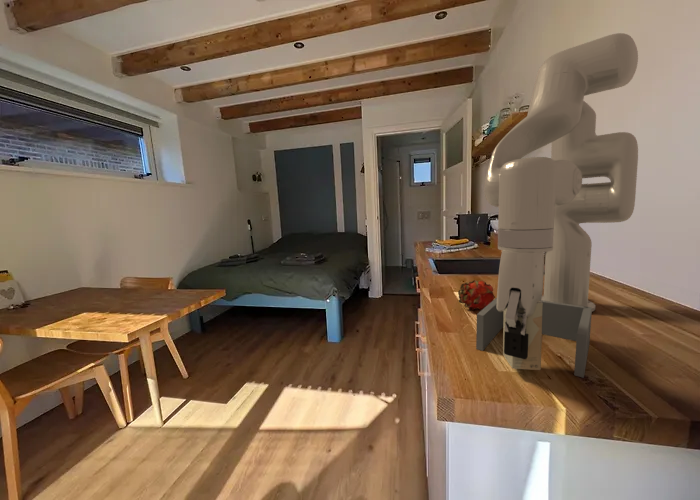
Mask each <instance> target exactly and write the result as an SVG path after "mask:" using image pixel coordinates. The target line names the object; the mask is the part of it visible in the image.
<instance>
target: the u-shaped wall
mask: <svg viewBox="0 0 700 500" xmlns="http://www.w3.org/2000/svg"><path fill="white" fill-rule="evenodd" d="M541 302H542V303H543V306H542V335H544V336H550V337H555V338H559V339H560V338H561V339H563V340H564V339H565V340H569V341H573V342H575V356H574V357H575V358H574V360H575V361H574V376H576V377H579V378H583V379H584V378H585V373H586V372H585V371H586V366H587V361H588V360H587V359H588V356H589V355H588V353H589V347H590V340H591V328H592V315H593V314H592V307H586V306H579V305H572V304H565V303H558V302H551V301H544V300H541ZM496 305H497V297H495V298H494V300H493V301H492V302H491V303H490V304H488V305H487V306H486V307H485V308H484V309H483V310H479V311H478V312H477V313H476V334H475V335H476V338H475V339H476V340H475V341H476V343H475V345H476V347H475V349H476V350H478V351H482V352H483V351H484V350H485V349H486V348H487V346H488V345H489V344H490V343H491V341H493V339H495V337H496V336H497V334H499V332H501V330H502V329H503V324H504V311H502V312H499V311H498V310H497V308H496Z"/></svg>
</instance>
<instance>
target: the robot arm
mask: <svg viewBox="0 0 700 500" xmlns="http://www.w3.org/2000/svg"><path fill="white" fill-rule="evenodd" d="M638 52H639V51H638V47H637V45H636V42H635V41H634V39H633V37H632V36H631V35H630V34H628V33H622V32H620V33H619V32H618V33H613V34H608V35H606V36H603V37H600V38H597V39H593V40H591V41H588V42H584V43H582V44H578V45H575V46H572V47H569V48H567V49H564V50H561V51H559V52H556V53H555V54H553V55H551V56H549V57H548V58H547V59H545V61H544V62H542V64H541V65H540V67H539V69H538V71H537V73H536V77H535V81H534V85H533V89H532V93H531V99H530V103H529V107H528V110H527V116H526V117H524V118H523V119H522V120H521V121H520V120H519V121H520V122H518V123H517V124H515V126H514V127H512V128H511V129H510V130H509V132H508V133H506V134H505V135H504V136H503V137H502V139H501V140H500V141H499V142H498V143H497V145H496V146H495V148H494V149H493V150H492V153H491V156H490V160H489V163H488V166H487V170H486V174H485V180H484V186H483V187H484V189H483V190H484V192H483V193H484V197H485V199H486V201H487V202H488V204H490V205H491V206H492V207H496V208H498V216H497V218H498V219H497V249H498V250H499V251H501V255H500V260H499V269H498V277H497V278H498V279H497V292H496V298H497V305H496V308H497V310H498V311H499V312H502V311H504V310H505V309H506V308H507V311H506V315H505V319H506V322H505V334H504V353H505V354H506V355H510V356H513V357H517V358H521V359H527V357H528V336H529V334H526V330H527V322H528V317H529V316H531V315H533V313H534V312H535V309H536V305H537V302H538V301H541V300H544V301H551V302H558V303H565V304H572V305H579V306H586V307H592V312H595V310H596V304H595V303H593V302H592V301H590V300H589V292H590V291H589V289H590V276H591V275H590V273H591V261H592V260H591V259H592V239H591V236H590V235H589V233H587V231H586V230H585V229H583V228H582V227H581V225H580V224H590V223H591V224H601V223H603V224H604V223H605V224H606V223H611V224H612V223H623V222H625V221H627V220H629V219H630V218H631V217H632V215H633V213H634V210H635V205H636V194H637V193H636V192H637V179H638V178H637V177H638V176H637V175H638V163H639V162H638V161H639V144H638V141H637V138H636V137H635V135H634V134H632V133H630V132H626V131H623V132H621V131H620V132H612V133H607V134H600V135H597V134H596V126H597V114H596V112H595V110H594V108H592V106H591V105H590V104H589V103H588V102H586V101H585V100H584V99H585V96H588V95H594V94H597V93H601V92H606V91H611V90H614V89H618V88H622V87H625V86H626V85H628V84H629V83H630V82H631V81H632V79H633V77H634V76H635V74H636V71H637V68H638V62H639V53H638ZM549 144H551V151H550V152H551V155H550V157H546V156H545V157H544V156H537V157H535V156H534V157H533V156H532V157H531V156H530V157H525V156H527V155H528V154H530V153H532V152H534V151H536V150H539V149H540V148H543V147H545V146H547V145H549ZM524 157H525V158H524ZM603 177H604V178H607V179H608V180H610V181H609V182H607V181H605V182H596V183H595V182H593V183H592V182H591V183H583V179H591V178H593V179H594V178H603ZM518 309H520V310H525V311H524V314H523V313H518ZM518 317H520V318H522V325H521V322H520V320H518Z"/></svg>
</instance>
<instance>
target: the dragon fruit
mask: <svg viewBox="0 0 700 500" xmlns="http://www.w3.org/2000/svg"><path fill="white" fill-rule="evenodd" d="M457 293H458V295H457V296H458V299H459V300H458V302H459V303H460V304H462V305H464V307H465V308H468V309H469V310H470V311H474V310H476V309H478V310H479V311H481V310H483V309H484V308H485V307H486V306H487V305H488V304H490V303H491V302H492V301H493V300H494V299H495V298H496V295H495V294H494V288H493V286H492V285H491V284H489V283H487V282H486V281H485V280H483V279H482V280H478V281H477V280H475V279H474V280H471V281H468V282H465V283H462V284H461V285H460V288H459V290H458V292H457Z"/></svg>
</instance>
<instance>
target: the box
mask: <svg viewBox="0 0 700 500" xmlns="http://www.w3.org/2000/svg"><path fill="white" fill-rule="evenodd" d="M542 306H543V303H542V302H541V301H538V302H537V305H536V309H535V312H534V313H533V315H531V316H529V317H528V322H527V330H526V334H529V336H528V357H527V359H521V358H517V357H513V356H510V355H506V354H505V353H504V334H505V322H506V319H505V315H506V311H507V308H506V309H505V310H504V324H503V328H502V329H503V333H502V335H503V336H502V337H503V339H502V342H503V343H502V350H503V351H502V355H503V357H504V358H505V360H506V361H507V363H508V365H509V366H510V367H511V368H512V369H515V370H516V369H517V370H530V371H531V370H532V371H533V370H534V371H541V369H542V339H543V337H542V335H543V334H542ZM524 311H525V310H520V309H518V313H523V314H524ZM518 320H520V322H521V325H522V318H520V317H518Z"/></svg>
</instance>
